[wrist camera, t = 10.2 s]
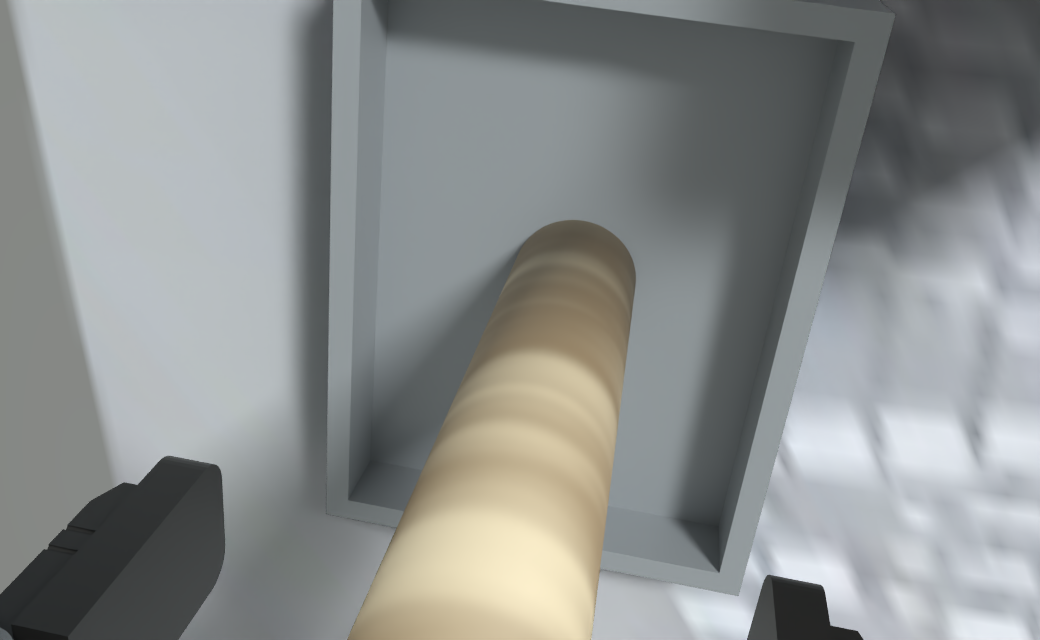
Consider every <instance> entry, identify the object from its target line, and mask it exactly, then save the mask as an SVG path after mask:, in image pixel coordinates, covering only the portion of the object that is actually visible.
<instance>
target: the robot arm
mask: <svg viewBox="0 0 1040 640" xmlns="http://www.w3.org/2000/svg"><path fill="white" fill-rule="evenodd" d="M224 553H225V533H224V512H223V490H222V475H221V471H220V469H219V467H218V466H217V465H214V464H209V463H204V462H199V461H194V460H189V459H183V458H178V457H173V456H166V457H164V458H162V459H161V460H160V461H159V462H158V463H157V464H156V465H155V466H154V468H153V469H152V470H151V471H150V472H149V473H148V474H147V475H146V476H145V477H144V479H143V480H142V481H141V482H140V483H139V484H138V485H134V484H129V483H122V484H120V485H118V486H117V487H115V488H113V489H111V490H109V491H108V492H106V493H104V494H102V495H100V496H98V497H97V498H95V499H93V500H91V501H90V502H89V503H88V504H87V505H86V506H85V507H84V508H83V509H82V510H81V511H80V512H79V513H78V514H77V516H75V518H74V519H73V520H72V521H71V522H70V523H69V524H68V526H67V529H66V530H62V531H61V532H60V533H59V534H58V535H57V536H56V538H54V539H53V540H52V541H51V542H50V544H49V547H48V549H47V550H45V549H44V550H43V551H42V552H41V553H40V554H39V555H38V556H37V557H36V558H35V559H34V560H33V561H32V562H31V563H30V564H29V565H28V566H27V567H26V568H25V569H24V571H23V572H22V573H21V574H20V575H19V576H18V577H17V578H16V579H15V580H14V581H13V582H12V583H11V584H10V585H9V586H8V587H7V588H6V589H5V590H4V591H3V592H2V593H1V594H0V640H178V639H179V638H180V636H181V635H182V633H183V632H184V630H185V629H186V627H187V626H188V624H189V623H190V621H191V620H192V618H193V617H194V615H195V614H196V613H197V611H198V610H199V608H200V607H201V605H202V604H203V602H204V601H205V599H206V598H207V596H208V595H209V593H210V592H211V590H212V589H213V587H214V585H215V583H216V581H217V579H218V577H219V574H220V571H221V568H222V564H223V560H224ZM747 640H863V638H862V637H861V635H860V634H859V632H858V631H854V630H849V629H844V628H839V627H834V626H830V621H829V615H828V608H827V602H826V596H825V591H824V588H823V587H822V586H821V585H818V584H813V583H808V582H803V581H798V580H793V579H788V578H782V577H777V576H772V575H767V576H766V578H765V580H764V583H763V586H762V589H761V592H760V596H759V599H758V603H757V606H756V610H755V614H754V617H753V621H752V624H751V628H750V631H749V635H748V638H747Z"/></svg>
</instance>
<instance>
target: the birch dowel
mask: <svg viewBox="0 0 1040 640" xmlns="http://www.w3.org/2000/svg"><path fill="white" fill-rule="evenodd" d="M635 286H636V271H635V266H634V263H633V260H632V257H631V255H630V253H629V251H628V250H627V248H626V247H625V245H624V244H623V243H622V242H621V241H620V239H619V238H618V237H616V236H615V235H614V234H613V233H612V232H610V231H609V230H607V229H605V228H603V227H601V226H599V225H597V224H594V223H591V222H587V221H582V220H564V221H558V222H555V223H551V224H549V225H547V226H544V227H543V228H541V229H539V230H538V231H536V232H535V233H534V234H533V235H531V236H530V237H529V239H528V240H527V241H526V242H525V243H524V245H523V246H522V248H521V250H520V252H519V254H518V256H517V258H516V260H515V263H514V265H513V267H512V269H511V272H510V274H509V276H508V278H507V281H506V283H505V285H504V287H503V290H502V292H501V294H500V296H499V299H498V301H497V303H496V305H495V308H494V310H493V312H492V314H491V317H490V319H489V321H488V323H487V326H486V328H485V330H484V332H483V335H482V337H481V339H480V341H479V344H478V346H477V348H476V350H475V353H474V355H473V357H472V359H471V362H470V364H469V366H468V368H467V371H466V373H465V375H464V377H463V380H462V382H461V384H460V386H459V389H458V391H457V393H456V395H455V398H454V400H453V402H452V404H451V407H450V409H449V411H448V414H447V416H446V418H445V420H444V423H443V425H442V427H441V429H440V432H439V434H438V436H437V438H436V441H435V443H434V445H433V447H432V450H431V452H430V454H429V456H428V459H427V461H426V463H425V465H424V468H423V470H422V472H421V474H420V477H419V479H418V481H417V483H416V486H415V488H414V490H413V492H412V495H411V497H410V499H409V501H408V504H407V506H406V508H405V510H404V513H403V515H402V517H401V519H400V522H399V524H398V526H397V528H396V531H395V533H394V535H393V537H392V540H391V542H390V544H389V546H388V549H387V551H386V553H385V555H384V558H383V560H382V562H381V564H380V567H379V569H378V571H377V573H376V576H375V578H374V580H373V582H372V585H371V587H370V589H369V591H368V594H367V596H366V598H365V600H364V603H363V605H362V607H361V609H360V612H359V614H358V616H357V618H356V621H355V623H354V625H353V627H352V630H351V632H350V634H349V637H348V639H347V640H591V636H592V629H593V621H594V613H595V605H596V597H597V589H598V581H599V573H600V565H601V557H602V549H603V541H604V533H605V525H606V517H607V509H608V501H609V493H610V485H611V477H612V469H613V461H614V453H615V445H616V438H617V430H618V422H619V414H620V406H621V398H622V390H623V382H624V374H625V366H626V358H627V350H628V342H629V334H630V326H631V318H632V310H633V302H634V294H635Z"/></svg>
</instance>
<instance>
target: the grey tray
mask: <svg viewBox="0 0 1040 640" xmlns="http://www.w3.org/2000/svg"><path fill="white" fill-rule="evenodd" d="M895 16H896V14H895V13H894V12H893V11H892V10H890V9H889V8H888V7H887V6H885V5H884V4H883V3H882V2H880V1H879V0H333V52H332V124H331V195H330V267H329V338H328V409H327V481H326V514H328V515H333V516H338V517H343V518H348V519H353V520H358V521H364V522H369V523H374V524H379V525H384V526H389V527H394V528H397V526H398V524H399V522H400V519H401V517H402V515H403V513H404V510H405V508H406V506H407V504H408V501H409V499H410V497H411V495H412V492H413V490H414V488H415V486H416V483H417V481H418V479H419V477H420V474H421V472H422V470H423V468H424V465H425V463H426V461H427V459H428V456H429V454H430V452H431V450H432V447H433V445H434V443H435V441H436V438H437V436H438V434H439V432H440V429H441V427H442V425H443V423H444V420H445V418H446V416H447V414H448V411H449V409H450V407H451V404H452V402H453V400H454V398H455V395H456V393H457V391H458V389H459V386H460V384H461V382H462V380H463V377H464V375H465V373H466V371H467V368H468V366H469V364H470V362H471V359H472V357H473V355H474V353H475V350H476V348H477V346H478V344H479V341H480V339H481V337H482V335H483V332H484V330H485V328H486V326H487V323H488V321H489V319H490V317H491V314H492V312H493V310H494V308H495V305H496V303H497V301H498V299H499V296H500V294H501V292H502V290H503V287H504V285H505V283H506V281H507V278H508V276H509V274H510V272H511V269H512V267H513V265H514V263H515V260H516V258H517V256H518V254H519V252H520V250H521V248H522V246H523V245H524V243H525V242H526V241H527V240H528V239H529V237H530V236H531V235H533V234H534V233H535V232H536V231H538V230H539V229H541V228H543V227H544V226H547V225H549V224H551V223H555V222H558V221H564V220H582V221H587V222H591V223H594V224H597V225H599V226H601V227H603V228H605V229H607V230H609V231H610V232H612V233H613V234H614V235H615V236H616V237H618V238H619V239H620V241H621V242H622V243H623V244H624V245H625V247H626V248H627V250H628V251H629V253H630V255H631V257H632V260H633V263H634V266H635V271H636V286H635V294H634V302H633V310H632V318H631V326H630V334H629V342H628V350H627V358H626V366H625V374H624V382H623V390H622V398H621V406H620V414H619V422H618V430H617V438H616V445H615V453H614V461H613V469H612V477H611V485H610V493H609V501H608V509H607V517H606V525H605V533H604V541H603V549H602V557H601V565H600V569H605V570H610V571H615V572H620V573H625V574H630V575H635V576H640V577H645V578H650V579H655V580H660V581H665V582H670V583H675V584H680V585H685V586H690V587H695V588H700V589H705V590H710V591H715V592H720V593H725V594H730V595H735V596H739V592H740V588H741V585H742V581H743V577H744V573H745V570H746V566H747V562H748V559H749V555H750V551H751V548H752V544H753V540H754V536H755V533H756V529H757V525H758V522H759V518H760V514H761V511H762V507H763V503H764V500H765V496H766V492H767V488H768V485H769V481H770V477H771V474H772V470H773V466H774V463H775V459H776V455H777V452H778V448H779V444H780V440H781V437H782V433H783V429H784V426H785V422H786V418H787V415H788V411H789V407H790V403H791V400H792V396H793V392H794V389H795V385H796V381H797V378H798V374H799V370H800V367H801V363H802V359H803V355H804V352H805V348H806V344H807V341H808V337H809V333H810V330H811V326H812V322H813V319H814V315H815V311H816V307H817V304H818V300H819V296H820V293H821V289H822V285H823V282H824V278H825V274H826V270H827V267H828V263H829V259H830V256H831V252H832V248H833V245H834V241H835V237H836V234H837V230H838V226H839V222H840V219H841V215H842V211H843V208H844V204H845V200H846V197H847V193H848V189H849V186H850V182H851V178H852V174H853V171H854V167H855V163H856V160H857V156H858V152H859V149H860V145H861V141H862V137H863V134H864V130H865V126H866V123H867V119H868V115H869V112H870V108H871V104H872V101H873V97H874V93H875V89H876V86H877V82H878V78H879V75H880V71H881V67H882V64H883V60H884V56H885V53H886V49H887V45H888V41H889V38H890V34H891V30H892V27H893V23H894V19H895Z"/></svg>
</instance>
